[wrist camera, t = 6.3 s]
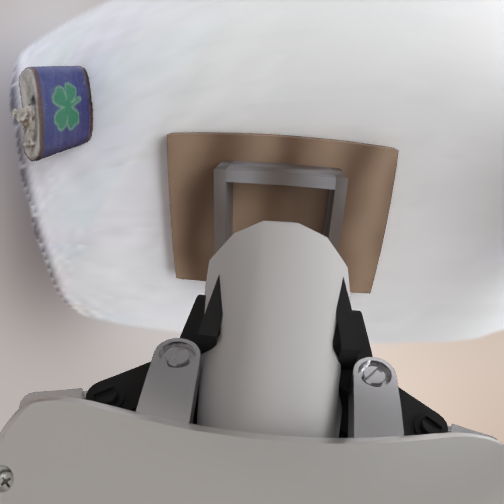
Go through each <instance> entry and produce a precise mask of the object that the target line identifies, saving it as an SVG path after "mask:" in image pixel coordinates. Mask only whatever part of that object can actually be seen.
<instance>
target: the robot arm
mask: <svg viewBox="0 0 504 504" xmlns="http://www.w3.org/2000/svg"><path fill="white" fill-rule="evenodd" d="M205 302H206V295H198V296H197V298H196V300H195V303H194V305H193V308H192V310H191V312H190V315H189V317H188V319H187V322H186V324H185V327H184V329H183V331H182V334H181V336H180V338H173V339H169V340H166V341H164V342H162V343H161V344H160V345H159V346H157V348H156V350H155V351H154V354H153V357H152V361H151V362H149V363H146V364H144V365H142V366H139V367H136V368H134V369H131V370H129V371H126V372H124V373H121V374H119V375H116V376H113V377H111V378H108V379H105V380H103V381H100V382H98V383H96V384H94V385H93V386H92V387H91V388H90V389H89V390H88V391H83V390H82V388H79V389H70V390H69V389H68V390H58V391H44V392H33V393H29V394H28V395H26V396H25V397H24V398H23V399H22V401H21V402H20V406H19V409H18V410H17V411H16V412H15V413H14V415H13V416H12V417H11V418H10V420H9V421H8V422H7V424H6V425H5V426H4V428H3V429H2V431H1V432H0V504H504V444H502V443H501V442H500V441H498V440H497V439H496V438H494V437H492V436H489V435H486V434H482V433H479V432H476V431H473V430H470V429H467V428H464V427H461V426H458V425H455V424H452V425H451V426H447V423H446V421H445V420H444V418H443V417H441V416H440V415H439V414H438V413H436V412H435V411H433V410H432V409H430V408H429V407H427V406H425V405H424V404H423V403H421V402H420V401H418V400H417V399H415V398H414V397H412V396H411V395H409V394H408V393H406V392H405V391H403V390H402V389H400V388H399V387H398V382H397V376H396V372H395V370H394V368H393V367H392V366H391V365H390V364H389V363H387V362H386V361H384V360H382V359H380V358H375V357H372V352H371V348H370V344H369V340H368V336H367V332H366V328H365V324H364V320H363V316H362V313H361V312H360V311H354V310H352V309H351V305H350V301H349V296H348V292H347V288H346V284H345V280H344V277H343V280H342V285H341V290H340V294H339V299H338V304H337V308H336V316H337V324H336V328H335V333H334V337H333V349H334V351H335V353H336V355H337V356H338V362H339V363H340V364H341V373H340V381H339V396H340V400H341V404H342V415H341V423H340V431H339V438H319V437H296V436H282V435H270V434H259V433H250V432H242V431H234V430H227V429H220V428H213V427H207V426H201V425H197V413H198V395H199V380H200V374H201V354H203V353H205V352H207V351H209V350H211V349H212V348H213V347H215V346H216V345H217V339H218V337H219V335H220V330H221V329H220V325H221V320H222V316H223V310H222V299H221V287H220V275H219V276H218V279H217V281H216V284H215V287H214V289H213V292H212V295H211V298H210V300H209V303H208V306H207V309H206V311H205ZM204 313H205V314H204Z"/></svg>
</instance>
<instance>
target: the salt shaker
mask: <svg viewBox="0 0 504 504" xmlns="http://www.w3.org/2000/svg"><path fill="white" fill-rule="evenodd" d="M219 275H220V287H221V299H222V310H223V316H222V320H221V325H220V329H221V330H220V335H219V337H218V339H217V345H216V346H215V347H213V348H212V349H211V350H209V351H207V352H205V353H203V354H201V374H200V380H199V395H198V413H197V425H201V426H207V427H213V428H220V429H227V430H234V431H242V432H250V433H259V434H270V435H282V436H296V437H319V438H339V431H340V423H341V415H342V404H341V400H340V396H339V381H340V373H341V364H340V363H339V362H338V356H337V355H336V353H335V351H334V349H333V337H334V333H335V328H336V324H337V316H336V308H337V304H338V299H339V294H340V290H341V285H342V280H343V277H344V280H345V284H346V288H347V292H348V296H349V301H350V287H349V276H348V267H347V266H346V264H345V263H344V261H343V260H342V258H341V257H340V255H339V254H338V252H337V251H336V249H335V248H334V246H333V245H332V244H331V242H330V241H329V239H328V238H327V237H326V236H324V235H322V234H320V233H318V232H316V231H314V230H312V229H310V228H308V227H306V226H304V225H301V224H299V223H293V222H278V221H262V222H259V223H257V224H255V225H252V226H250V227H248V228H245V229H243V230H241V231H238V232H236V233H234V234H233V235H232V236H231V237H230V238H229V239H228V240H227V242H226V243H225V244H224V245H223V246H222V247H221V248H220V249H219V250H218V251H217V253H216V254H215V255H214V256H213V257H212V258H211V259H210V260H209V266H208V273H207V279H206V286H205V295H206V302H205V311H206V309H207V306H208V303H209V300H210V298H211V295H212V292H213V289H214V287H215V284H216V281H217V279H218V276H219ZM204 314H205V313H204Z"/></svg>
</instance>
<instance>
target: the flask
mask: <svg viewBox="0 0 504 504" xmlns="http://www.w3.org/2000/svg"><path fill="white" fill-rule="evenodd" d="M19 87H20V94H21V100H22V108H20V109H18V110H17V109H13V113H12V116H11V117H12V119H13V118H14V116H15V115H16V121H18V123H19V121H21V123H22V125H23V126H24V142H23V147H24V152H25V155H27V157H28V158H29V159H30V160H31V161H35V160H36V161H38V160H40V159H42V158H45V157H48V156H51V155H53V154H56V153H58V152H62V151H64V150H67V149H70V148H73V147H76V146H79V145H81V144H84V143H86V142H88V141H89V140H90V138H91V136H92V130H93V108H92V102H91V92H90V84H89V78H88V74H87V72H86V70H85V68H82V67H81V66H46V67H28V68H25V70H24V71H23V72H22V73H21V75H20V76H19Z"/></svg>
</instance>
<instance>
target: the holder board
mask: <svg viewBox="0 0 504 504" xmlns="http://www.w3.org/2000/svg"><path fill="white" fill-rule="evenodd" d="M398 151H399V150H397V149H395V148H391V147H385V146H378V145H372V144H364V143H357V142H349V141H341V140H332V139H323V138H312V137H301V136H288V135H272V134H252V133H212V132H193V133H170V134H168V135H167V153H168V177H169V196H170V212H171V225H172V238H173V250H174V261H175V271H176V278H180V279H190V280H200V281H206V279H207V273H208V266H209V260H210V259H211V258H212V257H213V256H214V255H215V254H216V253H217V251H218V250H219V249H220V248H221V247H222V246H223V245H224V244H225V243H226V242H227V240H228V239H229V238H230V237H231V236H232V235H233V234H234V233H236V232H238V231H241V230H243V229H245V228H248V227H250V226H252V225H255V224H257V223H259V222H262V221H278V222H293V223H299V224H301V225H304V226H306V227H308V228H310V229H312V230H314V231H316V232H318V233H320V234H322V235H324V236H326V237H327V238H328V239H329V241H330V242H331V244H332V245H333V246H334V248H335V249H336V251H337V252H338V254H339V255H340V257H341V258H342V260H343V261H344V263H345V264H346V266H347V267H348V276H349V287H350V292H355V293H370V292H371V288H372V285H373V281H374V277H375V273H376V269H377V265H378V260H379V256H380V252H381V247H382V243H383V238H384V233H385V228H386V224H387V218H388V213H389V208H390V203H391V197H392V191H393V185H394V179H395V172H396V166H397V159H398Z"/></svg>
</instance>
